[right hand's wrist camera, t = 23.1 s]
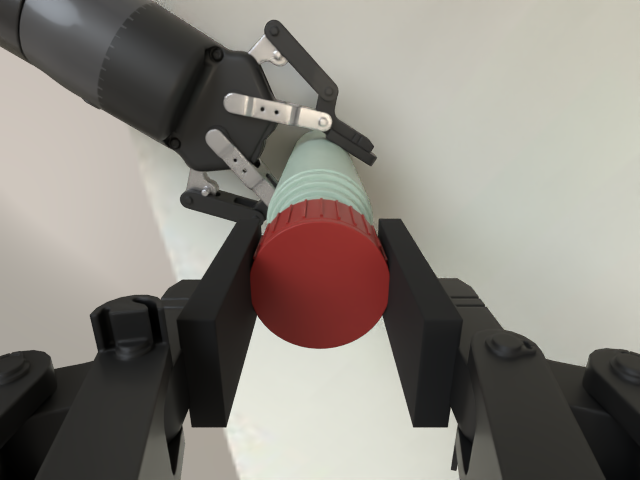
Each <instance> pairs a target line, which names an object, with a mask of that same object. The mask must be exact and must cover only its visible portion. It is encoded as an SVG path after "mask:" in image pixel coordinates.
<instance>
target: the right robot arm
mask: <svg viewBox="0 0 640 480" xmlns="http://www.w3.org/2000/svg"><path fill="white" fill-rule="evenodd" d="M261 236H262V235H261V219H239V220H238V221H237V223H236V224H235V226H234V228H233V229H232V231H231V232H230V234H229V236H228V237H227V239H226V240H225V242H224V244H223V245H222V247H221V249H220V250H219V252H218V253H217V255H216V257H215V258H214V260H213V261H212V263H211V265H210V266H209V268H208V270H207V271H206V273H205V274H204V276H203V278H202V279H201V280H181V281H179V282H178V283H176V284H175V285H173V286H171V287H170V288H168V290H167V291H166V292H165V294H164V295H163V296H162V298H161V300H160V299H159V298H158V297H154V296H150V295H132V296H126V297H121V298H118V299H115V300H112V301H109V302H106V303H105V304H103V305H101V306H99V307H97V308H96V309H95V310H94V311H93V312H92V313H91V314H90V319H91V323H92V327H93V331H94V336H95V340H96V344H97V349H98V353H97V355H96V357H95V359H94V361H91V362H87V363H83V364H78V365H73V366H67V367H62V368H57V369H54V368H53V364H52V361H51V357H50V356H49V355H48V354H46V353H45V352H42V351H36V350H30V351H18V352H13V353H11V354H10V353H9V354H6V355H2V356H0V480H180V479H181V471H182V463H183V455H184V447H185V440H184V433H183V427H182V424H183V422H184V419H185V417H186V414H187V412H188V409H189V411H190V418H191V425H192V427H226V426H227V423H228V419H229V416H230V412H231V408H232V405H233V401H234V397H235V394H236V390H237V386H238V383H239V379H240V376H241V372H242V368H243V365H244V361H245V357H246V354H247V350H248V346H249V343H250V339H251V336H252V332H253V328H254V325H255V321H256V317H257V314H256V312H255V310H254V307H253V305H252V298H251V283H250V271H251V267H252V265H253V262H254V259H253V256H254V254H255V251H256V249H257V246H258V243H259V241H260V238H261ZM378 238H379V239H380V242H381V244H382V247H383V249H384V252H385V254H386V257H387V259H388V262H387V265H388V268H389V272H390V276H389V291H388V304H387V307H386V309H385V311H384V313H383V319H384V323H385V326H386V330H387V334H388V337H389V341H390V344H391V348H392V352H393V355H394V359H395V363H396V366H397V370H398V374H399V377H400V381H401V384H402V388H403V392H404V395H405V399H406V403H407V406H408V410H409V414H410V417H411V421H412V424H413V427H448V422H449V415H450V408H452V411H453V413H454V416H455V418H456V421H457V423H458V427H457V433H456V439H455V446H454V452H453V459H452V466H451V470H454V471H456V470H457V465H458V470H459V478H460V480H640V354H638V353H635V352H631V351H630V352H628V350H622V349H610V348H604V349H598V350H595V351H594V352H592V353H591V354H590V355H589V358H588V362H587V366H586V367H582V366H577V365H572V364H566V363H561V362H556V361H552V360H548V359H545V357H544V355H543V353H542V351H541V350H540V348H539V347H538V346H537V345H536V344H535V343H534V342H532V341H531V340H529V339H528V338H526V337H525V336H522V335H520V334H517V333H514V332H512V331H507V330H504V329H503V328H502V327H501V325H500V324H499V323H498V321H497V320H496V319H495V318H494V316H493V315H492V314H491V312H490V311H489V310H488V308H487V307H485V304H484V303H483V302H482V300H481V299H479V297H478V295H477V294H476V293H475V291H474V290H473V289H472V287H471V286H469V285H467V284H466V283H464V282H462V281H461V280H459V279H458V278H437V277H436V275H435V274H434V272H433V270H432V269H431V267H430V265H429V264H428V262H427V261H426V259H425V257H424V256H423V254H422V253H421V251H420V249H419V248H418V246H417V244H416V243H415V241H414V240H413V238H412V236H411V235H410V233H409V232H408V230H407V228H406V227H405V225H404V223H403V222H402V220H401V219H379V227H378Z"/></svg>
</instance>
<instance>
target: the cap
mask: <svg viewBox="0 0 640 480" xmlns="http://www.w3.org/2000/svg"><path fill="white" fill-rule="evenodd" d="M253 259H254V262H253V265H252V267H251V271H250V283H251V298H252V305H253V307H254V310H255V312H256V314H257V315H258V317H259V319H260V320H261V321H262V322H263V324H264V325H265V326H266V327H267V328H268V329H269V330H270V331H271V332H273V333H274V334H275V335H277V336H278V337H280V338H281V339H283V340H285V341H287V342H289V343H292V344H295V345H298V346H301V347H306V348H315V349H326V348H333V347H338V346H342V345H345V344H348V343H350V342H353V341H355V340H357V339H358V338H360V337H362V336H363V335H364V334H366V333H367V332H368V331H369V330H371V329H372V328H373V327H374V326H375V324H376V323H377V322H378V321H379V319H380V318H381V317H382V315H383V313H384V311H385V309H386V307H387V304H388V291H389V276H390V272H389V268H388V265H387V262H388V259H387V257H386V254H385V252H384V249H383V247H382V244H381V242H380V239H379V238H378V237H377V234H376V231H375V229H374V226H373V225H370V223H369V222H368V221H367V220H366V218H365V216H364V214H362V215H361V214H360V213H359V212H358V211H356V210H355V209H353V207H352V206H351V205H350V206H348V205H346V204H343V203H341V202H338V200H336V201H333V200H327V199H323V198H320V199H312V200H307V199H305V201H302V202H299V203H296V204H294V205H293V204H291V205H290V207H288V208H287V209H285V210H283V211H282V212H281V213H280V212H279V213H277V216H276V217H275V218H274V219H273V221H272V222H271V223H268V225H267V227H266V230H265V233H264V235H262V236H261V238H260V241H259V243H258V246H257V249H256V251H255V254H254V256H253Z"/></svg>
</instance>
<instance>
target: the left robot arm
mask: <svg viewBox="0 0 640 480" xmlns="http://www.w3.org/2000/svg"><path fill="white" fill-rule="evenodd" d="M264 32H265V34H264V35H263V36H262V37H261V38H260V39H259V40H258V42H257V43H256V44H255V45H254V46H253V47H252V48H251V50H250V51H249V52H248V53H247V52H244V51H232V50H229V49H227V48H225V47H224V46H222V45H221V44H219V43H217V42H216V41H214V40H213V39H211V38H210V37H208V36H207V35H205V34H203V33H202V32H200V31H199V30H197V29H196V28H194V27H192V26H191V25H189V24H188V23H186V22H185V21H183V20H182V19H180V18H178V17H177V16H175V15H174V14H172V13H171V12H169V11H167V10H166V9H164V8H163V7H161V6H160V5H158V4H157V3H155V2H153V1H152V0H0V47H2V48H4V49H6V50H7V51H9V52H11V53H13V54H14V55H16V56H18V57H19V58H21V59H23V60H25V61H26V62H28V63H30V64H32V65H34V66H35V67H37V68H38V69H40V70H41V71H43V72H44V73H46V74H47V75H48V76H50V77H51V78H52V79H54V80H55V81H56V82H58V83H59V84H60V85H62V86H63V87H65V88H66V89H68V90H69V91H71V92H73V93H74V94H76V95H78V96H79V97H81V98H82V99H83V100H84V101H85V102H86V103H88V104H90V105H92V106H94V107H95V108H98V109H102V110H104V111H105V112H107V113H109V114H111V115H113V116H114V117H116V118H118V119H119V120H121V121H123V122H125V123H127V124H128V125H130V126H132V127H134V128H135V129H137V130H139V131H140V132H142V133H144V134H146V135H147V136H149V137H151V138H153V139H154V140H156V141H158V142H160V143H161V144H163V145H165V146H167V147H169V148H170V149H172V150H174V151H176V152H177V153H178V154H179V155H180V156H181V157H182V158H183V160H184V161H185V163H186V164H187V165H188V166H189V167H190V174H189V179H188V184H187V189H186V191H185V192H184V193H183V194H182V195H181V197H180V202H181V204H182V205H183V206H184V207H186V208H188V209H192V210H196V211H199V212H203V213H206V214H210V215H213V216H217V217H220V218H224V219H227V220H231V221H234V222H237V221H238V220H239V219H261V225H262V224H263V222H264V221H265V220H266V219H267V211H268V207H269V203H270V201H271V198H272V196H273V194H274V192H275V189H276V187H277V185H278V183H279V182H278V181H277V180H276V179H275V178H274V176H273V175H272V174H271V173H270V171H269V169H268V168H267V166H266V165H265V164H264V163H263V162H262V160H261V159H260V158H259V157H260V156H261V154H262V152H263V150H264V147H265V143H266V139H267V137H268V136H269V135H270V134H271V133H272V132H273V131H274V130H275V128H276V127H277V125H278V123H281V124H286V125H291V126H299V127H303V128H308V129H312V130H317V131H321V132H323V133H325V136H326V139H328V140H330V141H331V142H333V143H334V144H336V145H338V146H340V147H341V148H342V149H344V150H345V151H347V152H349V153H350V154H352V155H353V156H355V157H357V158H358V159H360V160H361V161H363V162H365V163H366V164H368V165H370V166H372V165H373V163H374V162H375V160H376V159H377V157H376V156H375V154H373V153H372V152H371V151H372V149H373V148H374V146H373V144H372V143H371V142H370V140H369V139H368V138H367V137H365V136H364V135H362V134H361V133H359V132H357V131H356V130H354V129H353V128H351V127H350V126H348V125H347V124H345V123H343V122H342V121H340V120H339V119H338V118H337V117H336V115H335V105H336V100H337V96H338V87H337V85H336V84H335V83H334V82H333V81H332V79H331V78H330V77H329V76H328V75H327V74H326V73H325V72H324V71H323V69H322V68H321V67H320V66H319V65H318V64H317V63H316V62H315V60H314V59H313V58H312V57H311V56H310V55H309V54H308V53H307V52H306V50H305V49H304V48H303V47H302V46H301V45H300V44H299V43H298V41H297V40H296V39H295V38H294V37H293V36H292V35H291V34H290V33H289V31H288V30H287V29H286V28H285V27H284V26H283V25H282V24H281V23H280V22H279V21H277V20H271V21H269V22H268V23H267V24H266V26H265V29H264ZM265 61H270V62H272V63H273V64H274V65H276V66H284V65H285V64H286V63H287V62H289V63H290V64H291V65H292V66H293V67H294V68H295V69H296V70H297V72H298V73H299V74H300V75H301V76H302V77H303V78H304V79H305V80H306V81H307V82H308V84H309V85H310V86H311V87H312V88H313V89H314V90H315V91H316V92H317V93H318V94H319V95H318V101H317V106H316V109H315V108H310V107H306V106H301V105H298V104H294V103H289V102H285V101H280V100H276V99H275V97H274V95H273V93H272V90H271V88H270V86H269V83H268V81H267V79H266V76H265V74H264V72H263V69H262V67H261V65H260V64H261V63H263V62H265ZM231 169H232V170H233V172H234V173H235V174H236V175H237V176H238V177H239V178H240V179H241V180H242V182H243V183H244V184H245V185H246V186H247V187H248V188H249V189H251V190H253V191H254V192H255V193H256V194H257V195H258V196H259V198H260V199H261V200H259V201H256V200H252V199H249V198H245V197H242V196H238V195H235V194H232V193H228V192H225V191H221V190H219V186H218V184H217V182H215V181H214V180H211V179H210V178H209V177H208V175H207V171H218V170H231ZM244 169H246V171H244Z"/></svg>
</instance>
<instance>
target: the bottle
mask: <svg viewBox="0 0 640 480" xmlns="http://www.w3.org/2000/svg"><path fill="white" fill-rule="evenodd" d="M320 198H323V199H327V200H333V201H336V200H338V202H341V203H343V204H346V205H348V206H350V205H351V206H352V207H353V209H355V210H356V211H358V212H359V213H360V214H361V215H362V214H364V216H365V218H366V220H367V221H368V222H369V223H370V225H373V212H372V208H371V204H370V201H369V199H368V196H367V194H366V192H365V190H364V187H363V185H362V183H361V181H360V178H359V176H358V174H357V172H356V169H355V167H354V165H353V162H352V160H351V158H350V156H349V153H348V152H347V151H345V150H344V149H342V148H341V147H340V146H338V145H336V144H334V143H333V142H331V141H330V140H328V139H326V136H325V133H323V132H321V131H317V130H313V131H310V132H307V133H306V134H304V135H303V136H302V137H301V138H300V139H299V140H298V141H297V143H296V144H295V147H294V149H293V151H292V153H291V156H290V158H289V160H288V162H287V165H286V167H285V169H284V171H283V174H282V176H281V178H280V180H279V183H278V185H277V187H276V189H275V192H274V194H273V196H272V198H271V201H270V203H269V207H268V211H267V225H268V223H271V222H272V221H273V219H274V218H275V217H276V216H277V213H279V212H280V213H281V212H282V211H283V210H285V209H287V208H288V207H290V205H291V204H293V205H294V204H296V203H299V202H302V201H305V199H307V200H312V199H320Z"/></svg>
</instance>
